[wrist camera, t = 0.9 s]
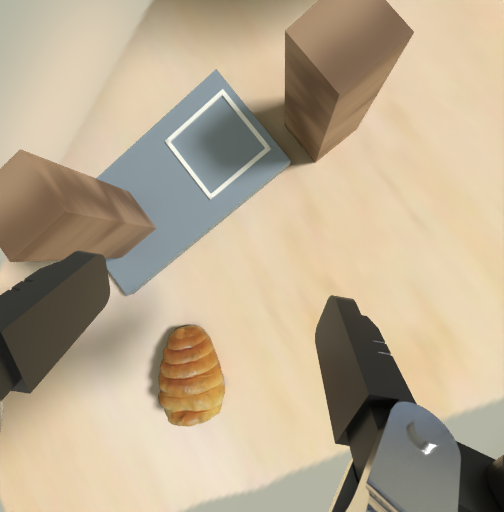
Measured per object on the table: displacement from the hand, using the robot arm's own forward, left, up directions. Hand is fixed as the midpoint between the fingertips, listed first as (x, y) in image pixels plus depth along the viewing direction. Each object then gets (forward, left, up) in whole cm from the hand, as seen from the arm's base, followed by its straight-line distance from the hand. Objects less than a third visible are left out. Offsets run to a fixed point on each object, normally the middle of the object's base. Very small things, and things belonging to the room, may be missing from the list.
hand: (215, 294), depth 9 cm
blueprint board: (-7, -10, -17) cm, 21 cm away
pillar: (-15, +4, -17) cm, 23 cm away
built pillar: (-3, -15, -16) cm, 22 cm away
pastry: (+12, -6, -18) cm, 22 cm away
